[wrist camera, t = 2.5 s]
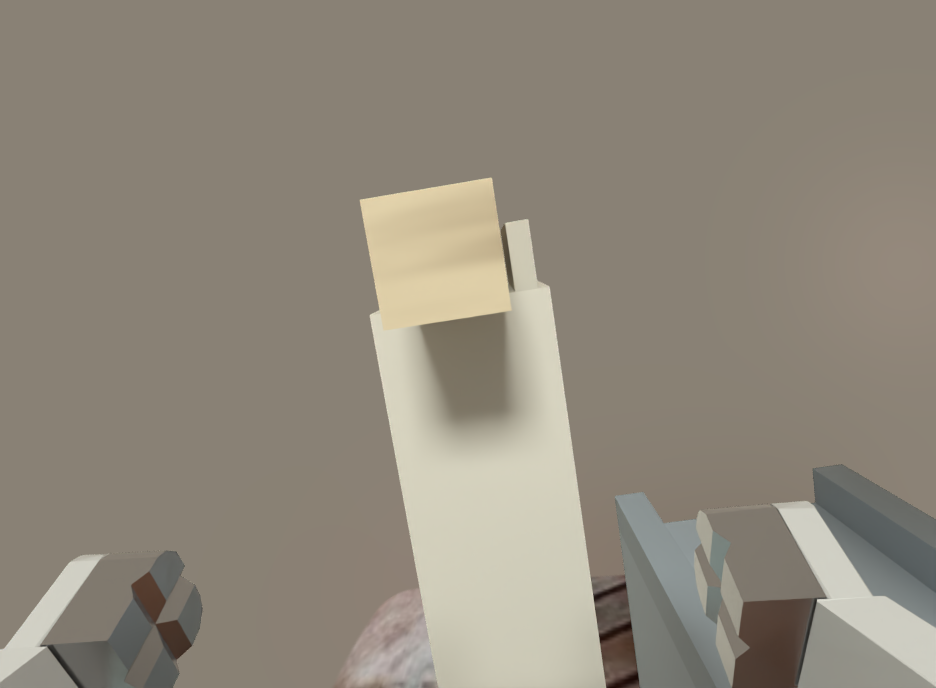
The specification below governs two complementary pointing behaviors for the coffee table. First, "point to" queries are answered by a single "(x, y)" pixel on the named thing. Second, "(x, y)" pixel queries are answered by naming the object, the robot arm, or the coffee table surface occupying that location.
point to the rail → (436, 254)
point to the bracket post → (493, 490)
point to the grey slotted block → (674, 583)
